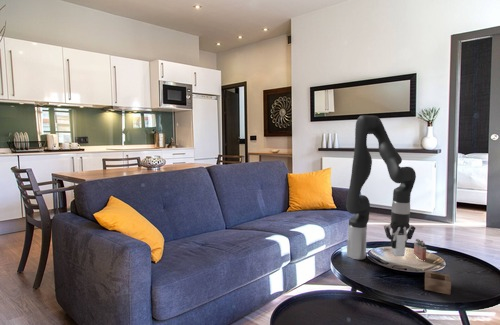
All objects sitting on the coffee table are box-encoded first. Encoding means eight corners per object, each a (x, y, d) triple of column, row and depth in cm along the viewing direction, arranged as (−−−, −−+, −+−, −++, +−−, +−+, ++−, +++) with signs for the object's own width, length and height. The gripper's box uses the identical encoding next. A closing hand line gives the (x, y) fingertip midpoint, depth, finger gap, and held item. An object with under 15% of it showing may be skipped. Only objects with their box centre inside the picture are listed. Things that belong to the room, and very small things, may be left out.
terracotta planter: (427, 261, 168) (428, 243, 166) (421, 262, 167) (422, 243, 166) (417, 255, 176) (418, 237, 174) (411, 255, 175) (412, 237, 174)
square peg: (395, 256, 146) (397, 235, 144) (391, 252, 150) (392, 232, 148) (404, 256, 146) (405, 235, 145) (399, 252, 150) (401, 231, 149)
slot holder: (424, 290, 140) (425, 279, 139) (424, 280, 148) (425, 270, 148) (450, 295, 136) (451, 284, 135) (448, 285, 144) (449, 274, 143)
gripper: (388, 213, 141) (386, 251, 143) (420, 213, 142) (418, 250, 144) (381, 209, 149) (379, 244, 151) (411, 208, 149) (409, 244, 151)
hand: (398, 247), depth 147 cm, fingers closed on square peg, 4 cm apart
